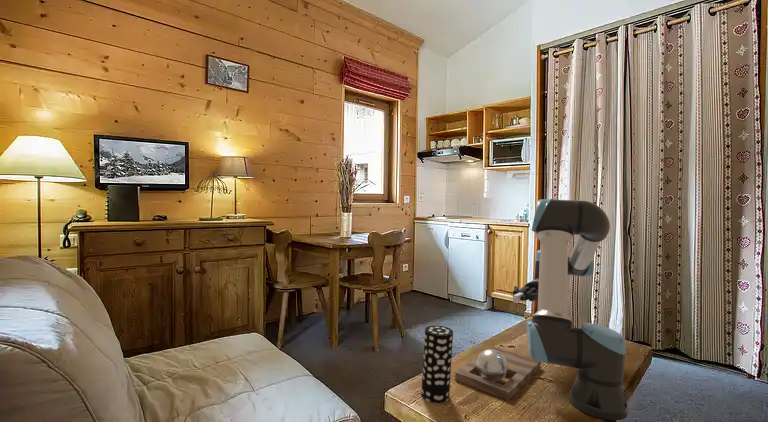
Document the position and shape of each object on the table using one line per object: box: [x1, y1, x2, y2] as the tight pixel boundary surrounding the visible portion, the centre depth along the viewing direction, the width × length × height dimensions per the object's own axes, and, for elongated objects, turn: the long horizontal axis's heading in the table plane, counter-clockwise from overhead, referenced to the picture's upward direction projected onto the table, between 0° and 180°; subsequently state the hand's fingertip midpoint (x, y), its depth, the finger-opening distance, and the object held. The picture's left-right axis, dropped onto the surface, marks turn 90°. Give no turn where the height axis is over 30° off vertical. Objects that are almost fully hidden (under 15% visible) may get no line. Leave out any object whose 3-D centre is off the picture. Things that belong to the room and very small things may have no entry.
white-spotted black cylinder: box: [420, 324, 454, 404], centre depth 114 cm, size 8×8×20 cm
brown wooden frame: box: [454, 346, 541, 401], centre depth 131 cm, size 30×18×2 cm, turn 141°
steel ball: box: [476, 348, 508, 383], centre depth 126 cm, size 10×10×10 cm
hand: (515, 299), depth 138 cm, fingers closed
